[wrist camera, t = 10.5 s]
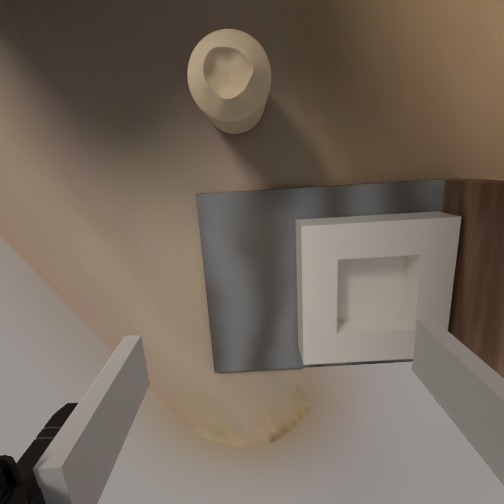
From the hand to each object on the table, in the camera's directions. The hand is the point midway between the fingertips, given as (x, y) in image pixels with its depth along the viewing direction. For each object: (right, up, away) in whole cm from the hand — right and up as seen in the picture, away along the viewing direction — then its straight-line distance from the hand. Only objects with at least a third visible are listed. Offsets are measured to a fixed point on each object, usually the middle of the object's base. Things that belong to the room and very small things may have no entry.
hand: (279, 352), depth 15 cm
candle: (-3, +19, +14) cm, 23 cm away
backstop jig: (+7, +2, +18) cm, 20 cm away
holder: (+10, +2, +18) cm, 20 cm away
